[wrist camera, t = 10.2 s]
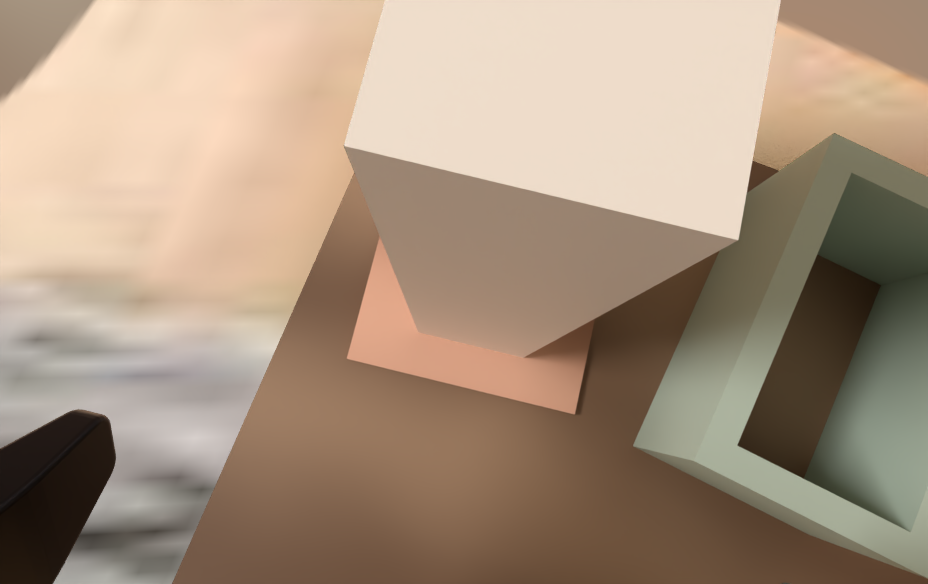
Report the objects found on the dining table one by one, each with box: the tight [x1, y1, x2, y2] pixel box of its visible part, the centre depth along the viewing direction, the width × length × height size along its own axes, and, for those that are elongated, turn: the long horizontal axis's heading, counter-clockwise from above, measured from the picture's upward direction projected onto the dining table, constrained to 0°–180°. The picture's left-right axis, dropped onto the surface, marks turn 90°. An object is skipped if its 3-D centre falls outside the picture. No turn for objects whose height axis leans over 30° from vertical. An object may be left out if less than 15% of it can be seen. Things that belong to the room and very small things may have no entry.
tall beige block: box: [344, 0, 781, 358], centre depth 11 cm, size 5×3×12 cm, turn 167°
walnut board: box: [172, 161, 928, 584], centre depth 17 cm, size 15×16×1 cm
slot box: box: [633, 133, 928, 579], centre depth 14 cm, size 7×5×4 cm, turn 153°
